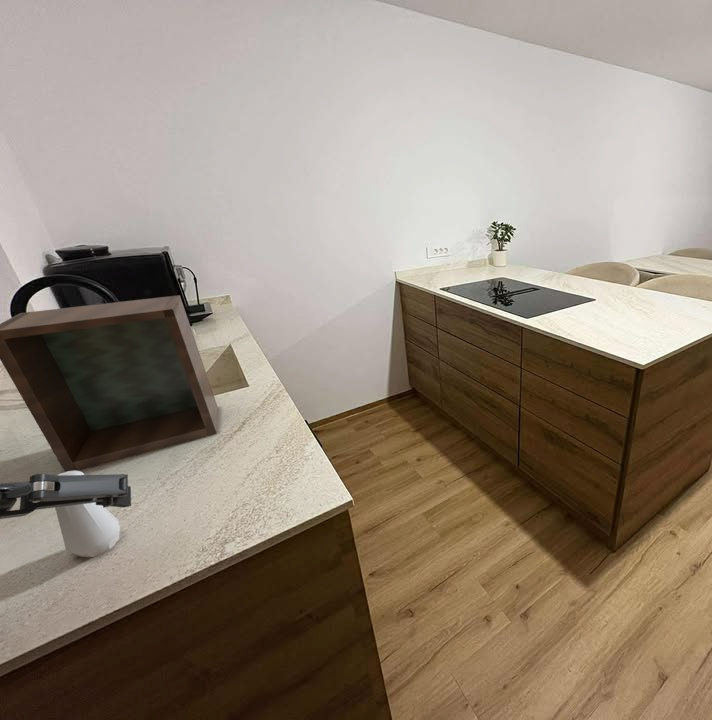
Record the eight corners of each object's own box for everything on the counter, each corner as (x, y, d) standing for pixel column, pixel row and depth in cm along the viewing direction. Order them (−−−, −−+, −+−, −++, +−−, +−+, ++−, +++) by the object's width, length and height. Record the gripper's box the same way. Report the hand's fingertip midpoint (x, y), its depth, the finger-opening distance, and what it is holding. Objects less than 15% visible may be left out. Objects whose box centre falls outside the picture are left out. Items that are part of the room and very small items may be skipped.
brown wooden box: (65, 474, 71) (-16, 332, 60) (86, 439, 81) (19, 313, 70) (216, 434, 83) (172, 308, 71) (218, 408, 93) (179, 295, 81)
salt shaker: (63, 557, 54) (17, 487, 49) (109, 526, 59) (72, 460, 54) (90, 567, 53) (46, 497, 48) (135, 535, 58) (99, 468, 53)
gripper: (-391, 617, 26) (-78, 580, 44) (82, 501, 35) (177, 510, 54) (-350, 506, 28) (-68, 515, 47) (84, 425, 38) (175, 459, 56)
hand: (63, 512), depth 50 cm, fingers open, 13 cm apart
